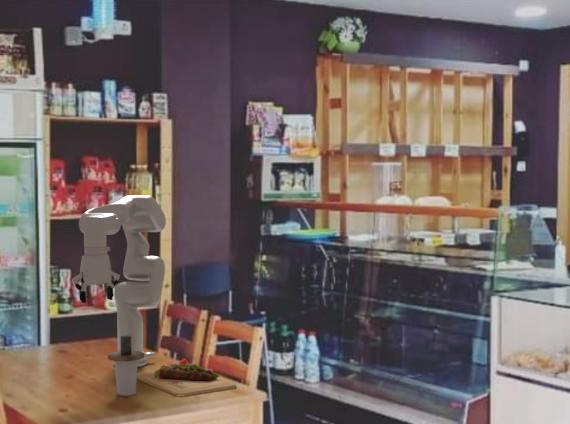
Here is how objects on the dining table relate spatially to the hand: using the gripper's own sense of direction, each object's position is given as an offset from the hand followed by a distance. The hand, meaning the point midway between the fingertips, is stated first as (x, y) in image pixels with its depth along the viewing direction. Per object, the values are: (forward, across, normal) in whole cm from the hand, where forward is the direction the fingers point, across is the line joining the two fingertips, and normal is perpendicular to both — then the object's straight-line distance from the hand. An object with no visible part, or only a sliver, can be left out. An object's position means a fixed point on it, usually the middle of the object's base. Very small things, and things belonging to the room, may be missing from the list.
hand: (96, 300), depth 317 cm
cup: (+29, -2, +17) cm, 34 cm away
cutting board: (+30, -26, +14) cm, 42 cm away
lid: (+17, -3, +17) cm, 24 cm away
